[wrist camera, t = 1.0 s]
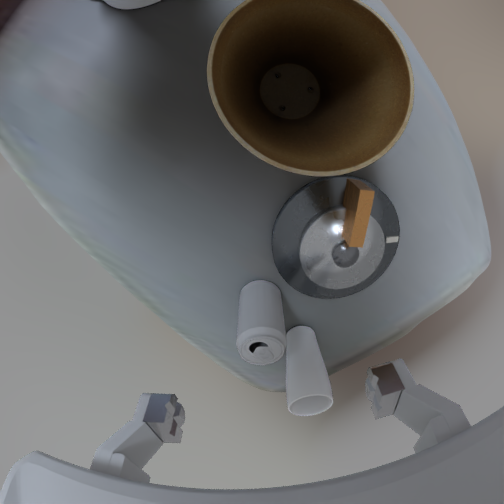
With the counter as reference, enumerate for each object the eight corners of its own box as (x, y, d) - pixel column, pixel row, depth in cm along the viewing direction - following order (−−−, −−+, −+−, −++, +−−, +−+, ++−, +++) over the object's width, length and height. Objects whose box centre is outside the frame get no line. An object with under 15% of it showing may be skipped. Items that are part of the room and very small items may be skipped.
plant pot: (350, 147, 32) (413, 178, 18) (233, 150, 33) (216, 181, 19) (345, 39, 25) (405, 1, 11) (224, 38, 26) (201, -13, 12)
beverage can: (266, 270, 41) (270, 327, 31) (288, 298, 44) (296, 356, 33) (231, 289, 43) (225, 347, 32) (254, 315, 45) (254, 373, 35)
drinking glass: (318, 344, 49) (331, 413, 36) (282, 348, 49) (287, 418, 36) (319, 318, 46) (336, 391, 33) (279, 323, 46) (286, 397, 33)
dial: (368, 281, 40) (379, 303, 36) (293, 279, 40) (297, 303, 35) (392, 184, 33) (411, 196, 28) (307, 173, 33) (315, 184, 28)
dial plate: (264, 181, 35) (265, 184, 33) (400, 173, 33) (405, 175, 32) (277, 300, 44) (277, 306, 42) (388, 285, 42) (391, 290, 41)
